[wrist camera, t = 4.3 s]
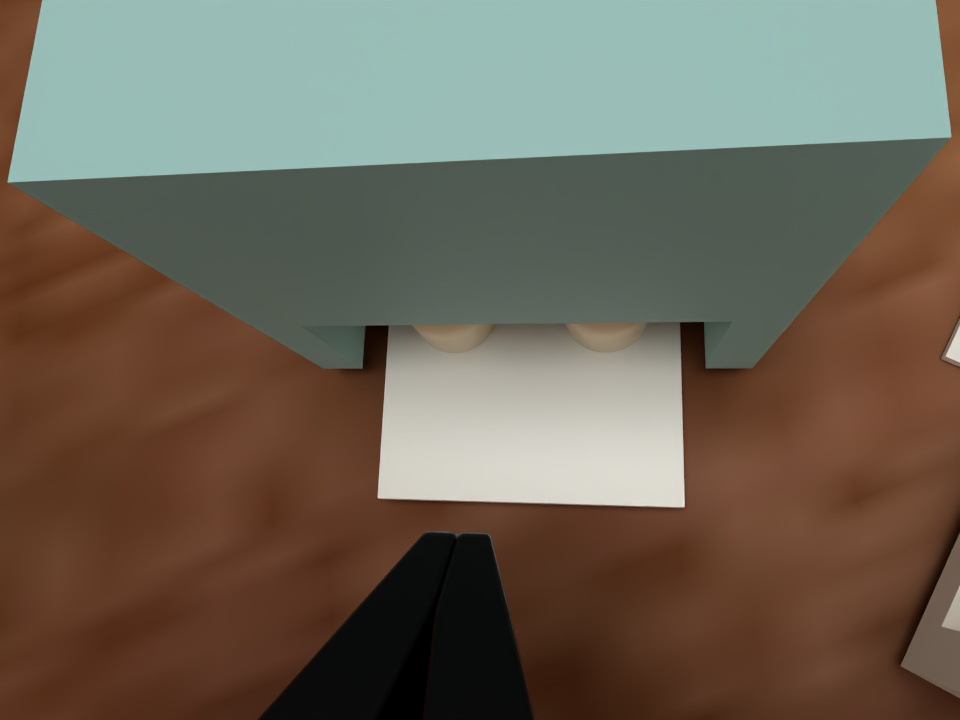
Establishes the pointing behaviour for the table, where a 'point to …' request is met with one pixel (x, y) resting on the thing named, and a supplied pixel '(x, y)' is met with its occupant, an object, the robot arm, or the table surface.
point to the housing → (484, 155)
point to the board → (534, 414)
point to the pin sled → (940, 632)
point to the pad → (953, 347)
